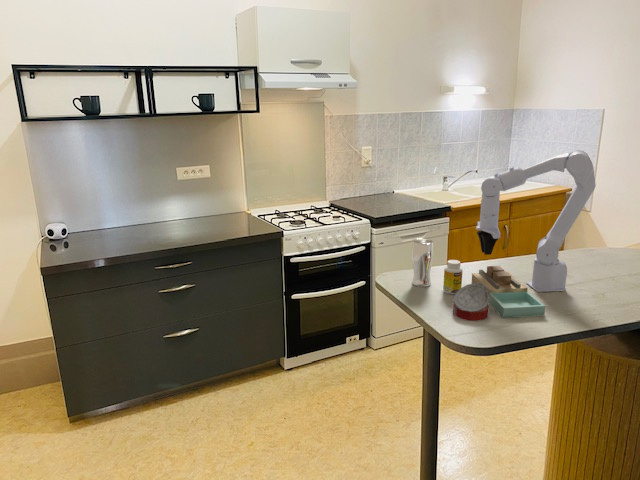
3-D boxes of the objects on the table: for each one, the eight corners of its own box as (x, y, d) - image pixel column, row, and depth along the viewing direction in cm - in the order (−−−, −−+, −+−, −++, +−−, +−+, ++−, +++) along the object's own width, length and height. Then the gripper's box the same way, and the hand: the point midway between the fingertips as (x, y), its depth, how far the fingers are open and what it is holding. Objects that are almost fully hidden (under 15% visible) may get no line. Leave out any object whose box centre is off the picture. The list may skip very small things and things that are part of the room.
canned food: (487, 330, 141) (502, 308, 135) (456, 331, 139) (469, 309, 132) (473, 299, 149) (486, 278, 143) (443, 300, 147) (454, 278, 140)
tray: (526, 300, 149) (527, 291, 148) (544, 315, 139) (545, 305, 138) (488, 302, 148) (488, 293, 148) (503, 317, 138) (503, 308, 137)
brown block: (498, 274, 159) (499, 265, 159) (503, 278, 156) (504, 270, 155) (486, 275, 159) (487, 266, 158) (491, 279, 155) (492, 270, 154)
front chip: (504, 280, 155) (505, 271, 154) (510, 284, 151) (511, 275, 150) (492, 280, 154) (493, 271, 154) (497, 285, 151) (498, 276, 150)
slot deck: (506, 283, 163) (508, 268, 161) (526, 300, 149) (528, 284, 148) (471, 284, 162) (472, 270, 161) (487, 301, 149) (489, 286, 147)
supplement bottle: (452, 296, 153) (454, 265, 150) (439, 291, 158) (441, 261, 155) (464, 292, 156) (466, 262, 153) (451, 287, 161) (453, 257, 158)
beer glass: (423, 289, 159) (425, 245, 155) (406, 283, 164) (407, 241, 160) (436, 283, 164) (438, 240, 159) (419, 278, 169) (420, 236, 164)
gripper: (469, 209, 166) (467, 247, 170) (486, 219, 152) (483, 260, 156) (489, 208, 167) (487, 246, 171) (508, 218, 153) (504, 259, 157)
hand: (486, 253), depth 163 cm, fingers closed
